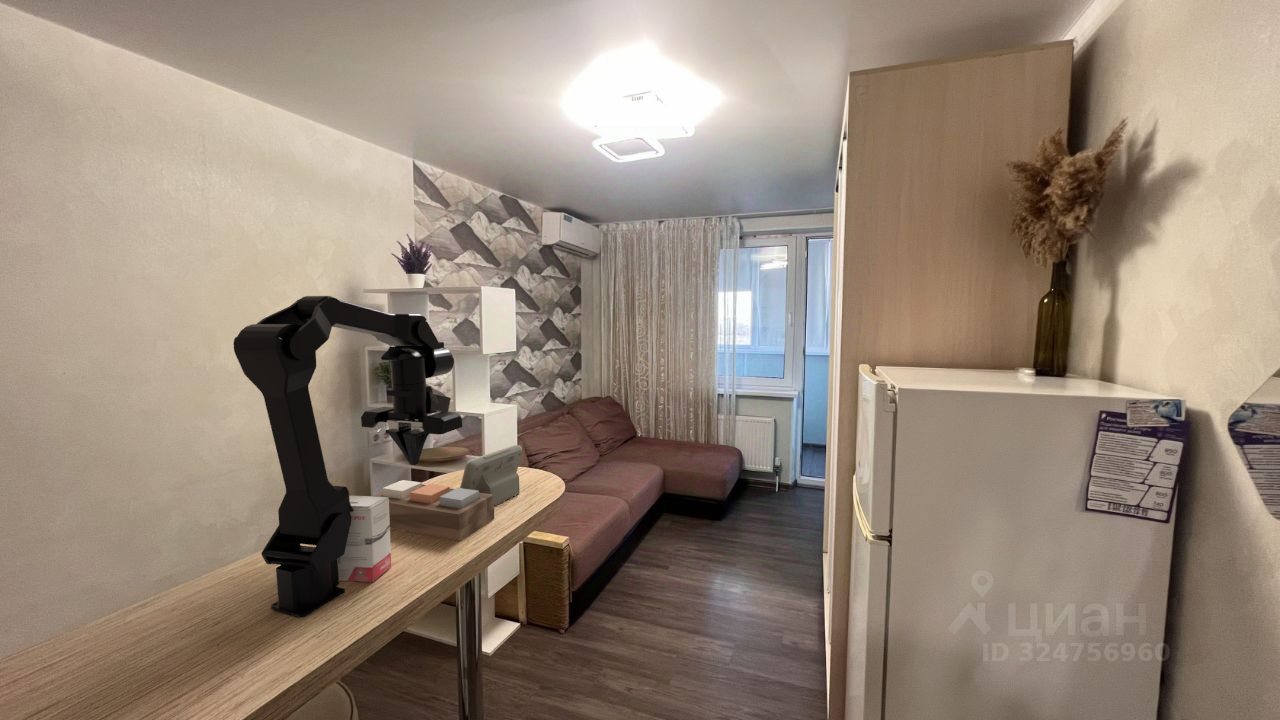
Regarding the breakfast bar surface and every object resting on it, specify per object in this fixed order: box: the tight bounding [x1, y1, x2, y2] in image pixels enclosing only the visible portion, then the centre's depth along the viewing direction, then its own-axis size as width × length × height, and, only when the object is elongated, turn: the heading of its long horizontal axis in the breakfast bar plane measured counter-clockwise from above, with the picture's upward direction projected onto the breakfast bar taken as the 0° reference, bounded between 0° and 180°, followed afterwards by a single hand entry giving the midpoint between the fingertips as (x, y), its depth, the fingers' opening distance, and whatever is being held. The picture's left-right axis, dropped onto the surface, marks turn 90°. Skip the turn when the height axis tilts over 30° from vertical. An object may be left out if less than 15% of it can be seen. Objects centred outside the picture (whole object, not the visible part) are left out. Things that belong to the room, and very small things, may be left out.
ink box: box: [337, 495, 392, 583], centre depth 75 cm, size 9×5×12 cm, turn 84°
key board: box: [372, 483, 495, 542], centre depth 95 cm, size 10×22×5 cm, turn 71°
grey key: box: [440, 487, 479, 509], centre depth 92 cm, size 5×5×3 cm
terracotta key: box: [410, 483, 451, 504], centre depth 94 cm, size 5×5×3 cm
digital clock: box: [459, 444, 523, 506], centre depth 107 cm, size 16×9×11 cm, turn 141°
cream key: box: [382, 479, 423, 499], centre depth 97 cm, size 5×5×3 cm
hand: (414, 464), depth 90 cm, fingers closed
